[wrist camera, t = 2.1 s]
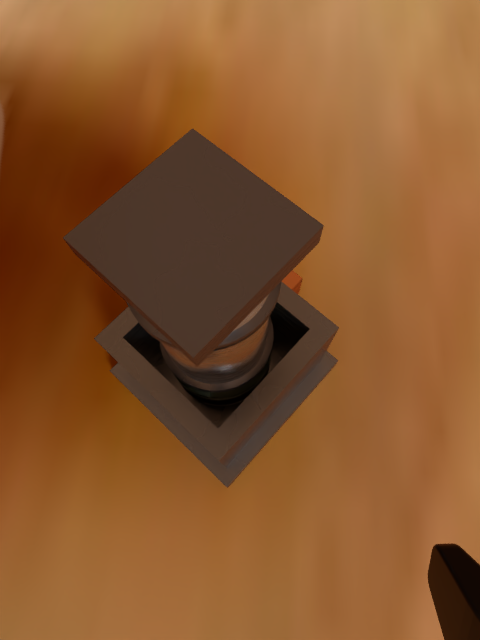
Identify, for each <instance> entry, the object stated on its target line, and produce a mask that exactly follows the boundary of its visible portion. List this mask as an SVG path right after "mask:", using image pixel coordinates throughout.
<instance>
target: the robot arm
mask: <svg viewBox="0 0 480 640" xmlns="http://www.w3.org/2000/svg"><path fill="white" fill-rule="evenodd" d="M428 583H429V588H430V591H431V595H432V598H433V602H434V605H435V609H436V612H437V616H438V619H439V623H440V626H441V629H442V633H443V636H444V640H480V565H479V564H478V563H477V562H476V561H475V560H474V559H473V558H472V557H471V556H470V555H469V554H467V553H466V552H465V551H464V550H463V549H462V548H461V547H460V546H458V545H456V544H436V545H435V546H434V547H433V549H432V554H431V559H430V564H429V570H428Z"/></svg>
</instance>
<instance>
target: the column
mask: <svg viewBox="0 0 480 640" xmlns="http://www.w3.org/2000/svg"><path fill="white" fill-rule="evenodd" d="M323 226H324V225H322V224H321V223H320V222H318V221H317V220H316V219H314V218H313V217H311V216H310V215H309V214H307V213H306V212H305V211H303V210H302V209H301V208H299V207H298V206H297V205H295V204H294V203H293V202H291V201H290V200H289V199H287V198H286V197H284V196H283V195H282V194H280V193H279V192H278V191H276V190H275V189H274V188H272V187H271V186H270V185H268V184H267V183H266V182H264V181H263V180H261V179H260V178H259V177H257V176H256V175H255V174H253V173H252V172H251V171H249V170H248V169H247V168H245V167H244V166H243V165H241V164H240V163H238V162H237V161H236V160H234V159H233V158H232V157H230V156H229V155H228V154H226V153H225V152H224V151H222V150H221V149H220V148H218V147H217V146H216V145H214V144H213V143H211V142H210V141H209V140H207V139H206V138H205V137H203V136H202V135H201V134H199V133H198V132H197V131H195V130H194V129H191V130H190V131H189V132H188V133H187V134H185V135H184V136H183V137H182V138H181V139H179V140H178V141H177V142H176V143H175V144H174V145H172V146H171V147H170V148H169V149H168V150H166V151H165V152H164V153H163V154H162V155H161V156H159V157H158V158H157V159H156V160H155V161H153V162H152V163H151V164H150V165H149V166H147V167H146V168H145V169H144V170H143V171H142V172H140V173H139V174H138V175H137V176H136V177H134V178H133V179H132V180H131V181H130V182H128V183H127V184H126V185H125V186H124V187H123V188H121V189H120V190H119V191H118V192H117V193H115V194H114V195H113V196H112V197H111V198H109V199H108V200H107V201H106V202H105V203H104V204H102V205H101V206H100V207H99V208H98V209H96V210H95V211H94V212H93V213H92V214H90V215H89V216H88V217H87V218H86V219H85V220H83V221H82V222H81V223H80V224H79V225H77V226H76V227H75V228H74V229H73V230H71V231H70V232H69V233H68V234H67V235H66V236H64V237H63V239H64V240H65V241H66V243H67V244H68V245H69V247H70V248H71V249H72V251H73V252H74V253H75V254H76V255H77V256H78V257H79V258H80V259H81V260H82V261H83V262H84V263H85V264H86V265H87V266H89V267H90V268H91V269H92V270H93V271H94V272H95V273H96V274H97V275H98V276H99V277H100V278H102V279H103V280H104V281H105V282H106V283H107V284H108V285H109V286H110V287H111V288H112V289H113V290H114V291H116V292H117V293H118V294H119V295H120V296H121V297H122V298H123V299H124V300H125V301H126V302H127V304H128V306H129V308H130V310H131V312H132V314H133V315H134V317H135V318H136V319H137V321H138V322H139V324H140V325H141V326H142V327H143V328H144V329H145V330H146V332H148V333H149V334H150V335H151V336H152V337H154V338H155V339H157V340H158V341H160V348H161V352H162V355H163V358H164V360H165V362H166V364H167V365H168V367H169V368H170V370H171V371H172V373H173V374H174V376H175V377H176V378H177V380H178V381H179V383H180V384H181V386H182V387H183V389H184V390H185V391H186V392H187V393H188V394H189V395H191V396H192V397H193V398H195V399H196V400H198V401H200V402H203V403H205V404H209V405H214V406H228V405H233V404H237V403H239V402H242V401H244V400H245V399H246V398H247V397H248V396H249V395H250V394H251V393H252V391H253V390H254V389H255V388H256V387H257V386H258V385H259V384H260V383H261V382H262V381H263V379H264V378H265V377H266V376H267V374H268V371H269V366H270V359H271V352H272V345H273V325H272V321H271V317H270V315H271V313H272V312H273V310H274V308H275V305H276V303H277V301H278V297H279V294H280V288H281V281H282V280H283V279H284V278H285V277H286V276H287V275H288V274H289V273H290V272H291V271H292V270H293V269H294V268H295V267H296V266H297V265H298V264H299V263H300V262H301V261H302V260H303V259H304V257H305V256H306V255H307V254H308V253H309V252H310V251H311V250H312V249H313V248H314V247H315V246H316V245H317V244H318V243H319V241H320V237H321V233H322V230H323Z"/></svg>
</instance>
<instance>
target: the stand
mask: <svg viewBox="0 0 480 640" xmlns="http://www.w3.org/2000/svg"><path fill="white" fill-rule="evenodd" d="M301 282H302V278H301V277H300V276H299V275H297V274H296V273H295V272H294V271H291V272H290V273H289V274H288V275H287V276H286V277H285V278H284V279H283V280H282V281H281V288H280V294H279V297H278V301H277V303H276V305H275V308H274V310H273V312H272V313H271V315H270V317H271V321H272V325H273V345H272V352H271V359H270V366H269V371H268V374H267V376H266V377H265V378H264V379H263V381H262V382H261V383H260V384H259V385H258V386H257V387H256V388H255V389H254V390H253V391H252V393H251V394H250V395H249V396H248V397H247V398H246V399H245V400H244V401H242V402H239V403H237V404H233V405H228V406H214V405H209V404H205V403H203V402H200V401H198V400H196V399H195V398H193V397H192V396H191V395H189V394H188V393H187V392H186V391H185V390H184V389H183V387H182V386H181V384H180V383H179V381H178V380H177V378H176V377H175V376H174V374H173V373H172V371H171V370H170V368H169V367H168V365H167V364H166V362H165V360H164V358H163V355H162V352H161V348H160V341H158V340H157V339H155V338H154V337H152V336H151V335H150V334H149V333H148V332H146V330H145V329H144V328H143V327H142V326H141V325H140V324H139V322H138V321H137V319H136V318H135V317H134V315H133V314H132V312H131V310H130V308H129V306H128V307H127V308H126V309H125V310H124V311H123V312H122V313H121V314H120V315H119V316H118V317H117V318H116V319H115V320H113V321H112V322H111V323H110V324H109V325H108V326H107V327H106V328H105V329H104V330H103V331H102V332H101V333H99V334H98V335H97V336H96V337H95V338H94V339H95V340H96V341H97V342H98V343H99V344H100V345H101V346H102V347H103V348H104V349H105V350H106V351H107V352H108V353H109V354H110V355H111V356H112V357H113V358H114V359H115V360H116V361H117V362H118V363H117V364H116V365H115V366H114V367H113V368H112V369H111V370H110V371H111V372H112V373H113V374H114V375H115V376H116V377H117V378H118V379H119V380H120V381H121V382H122V383H123V384H124V385H125V386H126V387H127V388H128V389H129V390H130V391H131V392H132V393H133V394H134V395H135V396H136V397H137V398H138V399H139V400H140V401H141V402H142V403H143V404H144V405H145V406H146V407H147V408H148V409H149V410H150V411H151V412H152V413H153V414H154V415H155V416H156V417H157V418H158V419H159V420H160V421H161V422H162V423H163V424H164V425H165V426H166V427H167V428H168V429H169V430H170V431H171V432H172V433H173V434H174V435H175V436H176V437H177V438H178V439H179V440H180V441H181V442H182V443H183V444H184V445H185V446H186V447H187V448H188V449H189V450H190V451H191V452H192V453H193V454H194V455H195V456H196V457H197V458H198V459H199V460H200V461H201V462H202V463H203V464H204V465H205V466H206V467H207V468H208V469H209V470H210V471H211V472H212V473H213V474H214V475H215V476H216V477H217V478H218V479H219V480H220V481H221V482H222V483H223V484H224V485H225V486H226V487H229V486H230V485H231V484H232V482H233V481H234V480H235V479H236V478H237V477H238V476H239V474H240V473H241V472H242V471H243V470H244V469H245V468H246V466H247V465H248V464H249V463H250V462H251V461H252V460H253V458H254V457H255V456H256V455H257V454H258V453H259V452H260V450H261V449H262V448H263V447H264V446H265V445H266V444H267V442H268V441H269V440H270V439H271V438H272V437H273V436H274V434H275V433H276V432H277V431H278V430H279V429H280V428H281V426H282V425H283V424H284V423H285V422H286V421H287V420H288V418H289V417H290V416H291V415H292V414H293V413H294V412H295V410H296V409H297V408H298V407H299V406H300V405H301V404H302V402H303V401H304V400H305V399H306V398H307V397H308V396H309V395H310V393H311V392H312V391H313V390H314V389H315V388H316V387H317V385H318V384H319V383H320V382H321V381H322V380H323V379H324V377H325V376H326V375H327V374H328V373H329V372H330V371H331V369H332V368H333V367H334V366H335V365H336V363H337V362H338V360H337V359H336V358H334V357H333V356H332V355H331V354H330V353H328V352H327V349H328V347H329V345H330V343H331V342H332V340H333V338H334V336H335V334H336V332H337V330H338V328H339V327H338V326H336V325H335V324H334V323H333V322H331V321H330V320H329V319H328V318H326V317H325V316H324V315H323V314H321V313H320V312H319V311H318V310H316V309H315V308H314V307H313V306H311V305H310V304H309V303H308V302H307V301H305V300H304V299H303V298H302V297H300V296H299V295H298V293H299V291H300V286H301Z"/></svg>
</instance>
